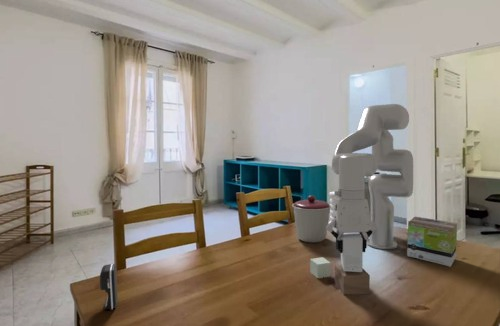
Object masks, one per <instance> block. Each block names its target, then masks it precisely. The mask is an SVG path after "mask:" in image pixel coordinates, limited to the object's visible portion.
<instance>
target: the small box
mask: <svg viewBox="0 0 500 326" xmlns="http://www.w3.org/2000/svg"><path fill="white" fill-rule="evenodd" d="M341 240H342V241H343V253H340V263H341V265H342V267H343V270H344V271H351V272H362V268H363V266H364V265H363V259H364V258H363V256H364V255H363V254H364V252H363V239H362V237H361V234H360V232H357V233H344V234H343V236H342V238H341Z"/></svg>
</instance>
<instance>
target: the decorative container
mask: <svg viewBox="0 0 500 326" xmlns="http://www.w3.org/2000/svg"><path fill="white" fill-rule="evenodd" d="M334 192H335V191H330V192H329V193H328V194H329V196H330V199H329V201H330V203H329V204H330V205H331V208H330V211H329V219H330V221H329V220H328V224H329V223H330V222H331V221H332V220H333V219H334V213H335V205H336V201H337V198H339V197H338V196H335V194H334Z"/></svg>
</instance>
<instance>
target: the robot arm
mask: <svg viewBox="0 0 500 326" xmlns="http://www.w3.org/2000/svg"><path fill="white" fill-rule="evenodd" d="M359 118H360V119H359V121H358V125H357V127H356V131H354V132H352V133H350V134H349V135H347V136H346V137H345V138H344V139H342V140H341V141H340V142H339V143H338V144H337V146H336V148H335V151H334V153H333V155H332V160H331V168H332V171H333V172H334V174H336V175H338V189H337V190H336V191H335V192H334V191H333V192H334V194H335V196H338V197H339V198H337V201H336V205H335V213H334V219H333V220H332V221H331V220H330V221H331V222H330V223H329V222H328V225H327V226H326V229H327V232H329V233H330V234H331V235H332V236H333V237H334V238H335V249H336V250H337V251H338V252H339V253H340V254H341V253H343V241H342V240H341V238H342V236H343V234H344V233H357V232H359V234H360V235H361V237H362V239H363V253H366V249H368V248H367V245H368V246H369V247H370V248H371V247H372V248H373V249H379V250H394V249H396V248H398V243H397V242H396V241H395V240H394V233H395V232H394V227H395V226H394V225H395V223H394V221H395V206H394V203H393V201H391V199H390V198H389V197H393V198H405V199H406V198H410V197H411V196H412V195H413V193H414V155H413V153H412V152H411V151H410V150H408V149H395V148H394V136H393V135H392V134H391V132H390V131H396V130H398V131H399V130H405V129H406V128H407V127H408V125H409V124H410V123H409V122H410V114H409V111H408V110H407V108H406V107H404V105H402V104H398V103H389V104H376V105H370V106H367V107H366V108H364V110H363V111H362V112H361V115H360V117H359ZM369 147H371V153H365V152H360V153H358V152H357V151H361V150H364V149H367V148H369ZM377 171H378V172H391V173H399V174H389V173H377V174H375V173H376V172H377ZM366 177H369V183H368V184H369V191H370V213H369V206H368V201H367V199H364V194H365V178H366ZM333 228H335V229H336V231H335V230H334V229H333Z"/></svg>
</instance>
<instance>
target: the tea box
mask: <svg viewBox="0 0 500 326" xmlns="http://www.w3.org/2000/svg"><path fill="white" fill-rule="evenodd" d="M457 233H458V223H457V222H452V221H448V220H447V221H446V220H439V219H433V218H427V217H420V216H414V217H412V218H411V219H410V220H409V221H408V223H407V244H406V246H407V248H406V256H407V257H409V258H414V259H415V258H416V259H419V260H422V261H427V262H431V263H435V264H438V265H442V266H445V267H449V268H451V267H452V265H453V264H454V262H455V260H456V257H457V256H456V255H457V237H458V235H457Z"/></svg>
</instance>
